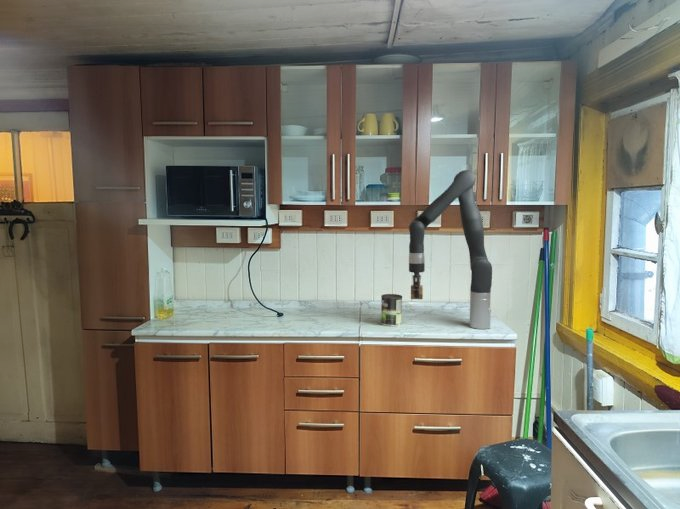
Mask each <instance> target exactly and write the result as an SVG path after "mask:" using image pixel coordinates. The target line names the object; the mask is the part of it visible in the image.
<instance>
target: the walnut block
mask: <svg viewBox="0 0 680 509" xmlns="http://www.w3.org/2000/svg"><path fill="white" fill-rule="evenodd" d="M423 286H424V284H423V285H422V284H420V286H419V298H414V289H413V288H414V285H413V284H412V285H411V284H410V300H423V297H424V294H423V291H424V287H423ZM415 287H418V286H417V285H416V286H415Z"/></svg>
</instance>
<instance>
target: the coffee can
mask: <svg viewBox="0 0 680 509" xmlns="http://www.w3.org/2000/svg"><path fill="white" fill-rule="evenodd" d="M380 298H381V302H380V304H381V306H380V307H381V309H380V310H381V314H380V315H381V316H380V319H381V322H380V325H382V326H385V327H399V326H402V324H403V323H402V319H403V318H402V316H403V314H402V311H403V309H402V308H403V295H401V294H397V293H396V294H394V293H387V294H382V295H381V297H380Z"/></svg>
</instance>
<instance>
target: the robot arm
mask: <svg viewBox="0 0 680 509" xmlns="http://www.w3.org/2000/svg"><path fill="white" fill-rule="evenodd" d="M476 178H477V177H476V175H475V173H474V172H473V171H471V170H467V169H465V170H462V171H459V172H458V173H456V174H455V176H454V177H453V181H452V183H451V184H450V185H449V186H448V188H446V190H444V192H443V193H441V194H440V195H438V197H436V198H435V199H434V200H433V201H432V202H430V204H429V205H428V206H427V207H426V208H425V209H424V210H423V211H422V212H421V214H419V215H418V216H417V217H416V218H414V219H413V220H412V221H411V223H409V225H408V230H409V240H410V241H409V246H408V272H409V273H413V275H412V277H411V278H412V285H414V288H413V289H414V298H419V286H420V285H421V279H422V275H421V274H420V273H424V272H425V271H426V270H425V266H426V265H425V244H424V242H425V229H426V228H427V227H428V226H429V225H430V224H432V223H433V222H435V221H436V220H437V219H438V218H439V217H440V216H441V215H442V214H443V213H444V212H445V211H446V210H447V208H449V207H450V206H451V204H452V203H453V202H454V201H456V199H458V203H459V204H458V205H459V212H460V213H459V214H460V219H461V225H462V230H463V234H464V239H465V241H466V244H467V248H468V252H469V266H470V271H471V275H470V276H471V281H470V288H469V292H470V293H469V294H470V295H469V296H470V297H469V327H470V328H472V329H478V330H488V329H489V330H490V329H491V318H492V316H491V315H492V314H491V312H492V309H491V295H492V293H491V292H492V279H493V266H492V263H491V262H490V261H489V260H488V259H489V258H488V256H487V252H486V248H485V232H484V231H485V230H484V229H485V228H484V223H483V218H482V215H481V213H480V212H481V211H480V210H479V206H478V204H477V203H476V199H475V194H474V186H475V184H476V180H477V179H476ZM416 285H417V286H418V287H415V286H416Z"/></svg>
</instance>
